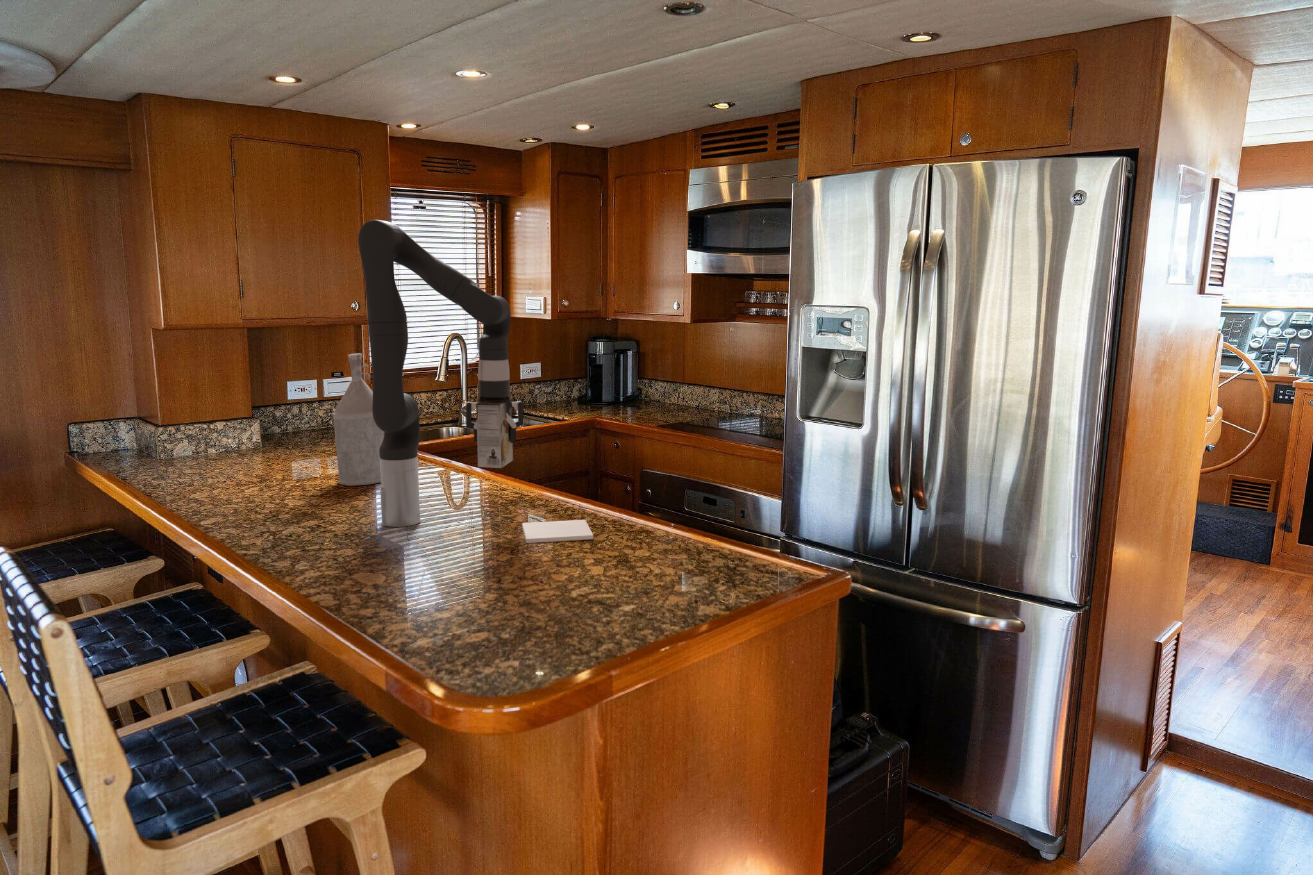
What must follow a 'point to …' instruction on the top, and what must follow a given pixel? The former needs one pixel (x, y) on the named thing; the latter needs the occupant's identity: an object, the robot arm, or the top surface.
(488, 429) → the coffee box
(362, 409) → the grey bottle
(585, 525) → the mat
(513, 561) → the top surface
